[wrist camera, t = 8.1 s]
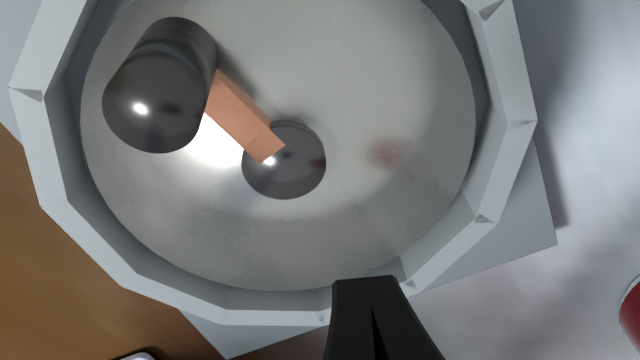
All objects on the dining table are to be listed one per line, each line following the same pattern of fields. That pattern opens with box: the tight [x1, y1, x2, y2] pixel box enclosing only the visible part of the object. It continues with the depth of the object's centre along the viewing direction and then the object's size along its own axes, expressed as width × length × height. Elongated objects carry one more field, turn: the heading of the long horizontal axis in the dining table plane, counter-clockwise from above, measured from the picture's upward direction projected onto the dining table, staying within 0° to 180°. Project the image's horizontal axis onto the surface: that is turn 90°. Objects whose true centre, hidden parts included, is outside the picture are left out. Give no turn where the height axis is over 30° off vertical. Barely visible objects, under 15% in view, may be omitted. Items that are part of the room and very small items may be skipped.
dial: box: [80, 0, 476, 291], centre depth 17 cm, size 14×14×5 cm
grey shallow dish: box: [0, 0, 558, 360], centre depth 19 cm, size 18×22×3 cm
